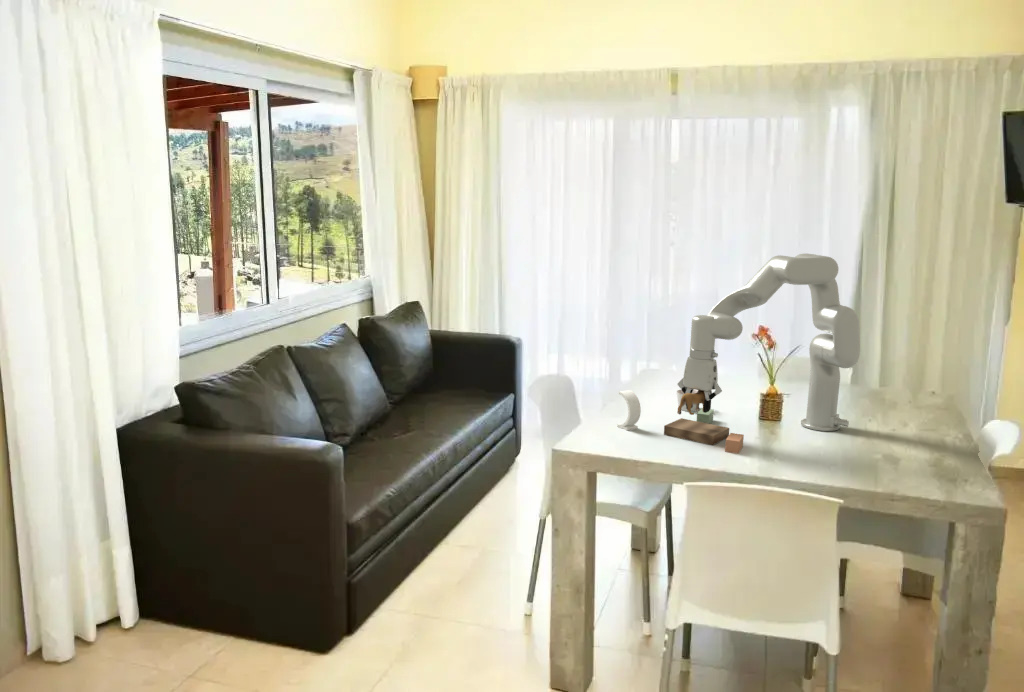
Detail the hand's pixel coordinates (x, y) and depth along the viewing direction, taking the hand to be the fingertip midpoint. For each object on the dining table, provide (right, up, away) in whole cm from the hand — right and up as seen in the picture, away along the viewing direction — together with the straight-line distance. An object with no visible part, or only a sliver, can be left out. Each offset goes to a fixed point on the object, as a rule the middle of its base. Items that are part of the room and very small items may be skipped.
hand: (697, 409), depth 272 cm
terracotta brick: (+9, -11, -11) cm, 18 cm away
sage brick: (+6, -6, +18) cm, 20 cm away
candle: (+4, -3, +35) cm, 35 cm away
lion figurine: (-1, -1, 0) cm, 2 cm away
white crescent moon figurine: (-21, -7, +9) cm, 24 cm away
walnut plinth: (0, -9, +2) cm, 9 cm away
